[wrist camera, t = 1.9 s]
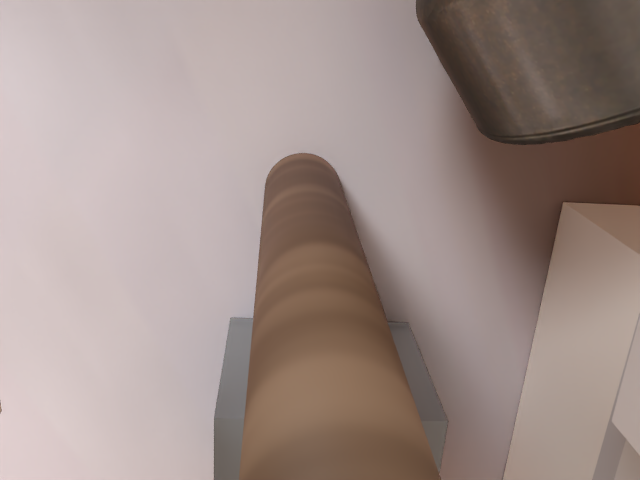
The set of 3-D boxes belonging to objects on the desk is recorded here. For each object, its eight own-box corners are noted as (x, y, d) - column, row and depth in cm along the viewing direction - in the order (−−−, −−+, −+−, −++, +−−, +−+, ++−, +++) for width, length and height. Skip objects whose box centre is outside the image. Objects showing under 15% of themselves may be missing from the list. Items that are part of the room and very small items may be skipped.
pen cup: (230, 317, 24) (214, 418, 18) (408, 322, 25) (448, 421, 19) (228, 462, 27) (213, 591, 21) (389, 463, 27) (419, 589, 21)
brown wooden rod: (266, 151, 22) (215, 639, 5) (343, 155, 22) (546, 635, 5) (263, 224, 23) (213, 838, 6) (337, 227, 23) (492, 827, 6)
